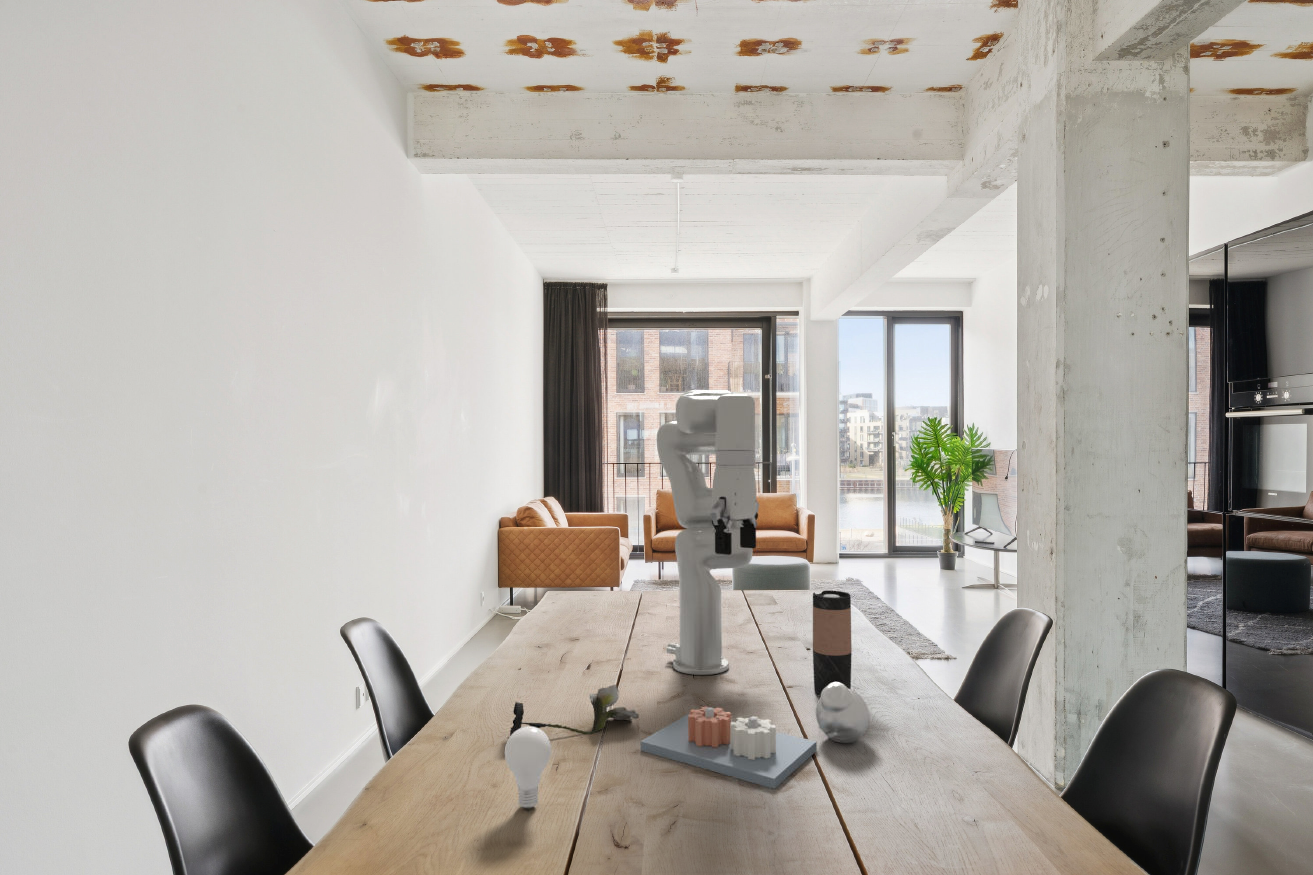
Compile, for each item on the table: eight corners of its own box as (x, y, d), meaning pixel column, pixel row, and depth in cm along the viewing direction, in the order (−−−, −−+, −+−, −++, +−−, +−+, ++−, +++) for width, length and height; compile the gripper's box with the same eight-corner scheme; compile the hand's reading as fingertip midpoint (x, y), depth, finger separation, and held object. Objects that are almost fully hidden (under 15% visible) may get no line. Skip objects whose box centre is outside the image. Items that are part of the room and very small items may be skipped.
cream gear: (728, 757, 113) (728, 731, 113) (733, 739, 120) (733, 714, 120) (774, 761, 111) (774, 735, 111) (776, 742, 118) (776, 718, 118)
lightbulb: (507, 797, 104) (507, 720, 104) (552, 795, 104) (552, 718, 104) (502, 820, 97) (501, 737, 97) (549, 817, 98) (549, 735, 98)
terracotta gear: (680, 740, 119) (680, 716, 119) (702, 726, 125) (702, 703, 125) (717, 750, 115) (717, 725, 115) (738, 736, 121) (738, 712, 121)
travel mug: (853, 700, 142) (852, 598, 142) (813, 698, 143) (812, 597, 144) (850, 687, 149) (849, 590, 150) (812, 685, 151) (812, 589, 151)
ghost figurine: (802, 735, 125) (802, 677, 125) (848, 727, 129) (847, 670, 129) (834, 756, 117) (833, 693, 117) (881, 746, 120) (881, 686, 120)
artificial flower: (506, 739, 128) (512, 679, 131) (630, 741, 133) (633, 684, 136) (509, 744, 120) (515, 681, 123) (641, 747, 125) (644, 686, 128)
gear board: (640, 750, 119) (640, 710, 119) (692, 719, 132) (691, 684, 133) (774, 788, 106) (774, 744, 106) (816, 750, 119) (816, 710, 119)
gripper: (739, 459, 146) (740, 544, 146) (694, 460, 132) (695, 555, 132) (773, 459, 142) (774, 546, 142) (730, 461, 127) (731, 558, 127)
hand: (736, 550), depth 137 cm, fingers open, 9 cm apart
